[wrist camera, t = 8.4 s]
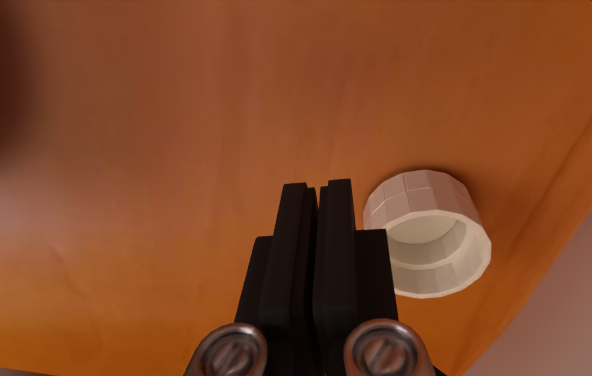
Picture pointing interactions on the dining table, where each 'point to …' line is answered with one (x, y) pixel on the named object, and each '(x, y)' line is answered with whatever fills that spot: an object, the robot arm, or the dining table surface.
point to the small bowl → (429, 233)
